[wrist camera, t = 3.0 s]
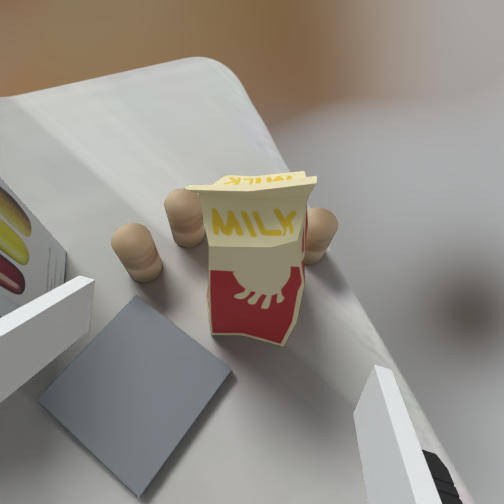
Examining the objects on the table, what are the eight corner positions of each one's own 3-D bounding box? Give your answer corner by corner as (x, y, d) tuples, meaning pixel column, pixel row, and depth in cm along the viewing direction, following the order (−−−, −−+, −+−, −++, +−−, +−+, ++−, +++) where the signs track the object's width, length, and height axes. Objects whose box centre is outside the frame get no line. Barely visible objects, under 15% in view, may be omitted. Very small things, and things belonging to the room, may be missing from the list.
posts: (127, 284, 36) (110, 259, 31) (129, 219, 40) (113, 186, 35) (326, 263, 39) (342, 236, 34) (310, 203, 43) (322, 171, 37)
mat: (42, 400, 31) (36, 399, 30) (139, 298, 36) (136, 294, 35) (142, 494, 28) (138, 497, 27) (231, 370, 33) (231, 368, 32)
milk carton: (296, 265, 39) (353, 125, 21) (287, 348, 34) (350, 262, 17) (215, 252, 39) (203, 102, 21) (197, 333, 35) (163, 232, 17)
